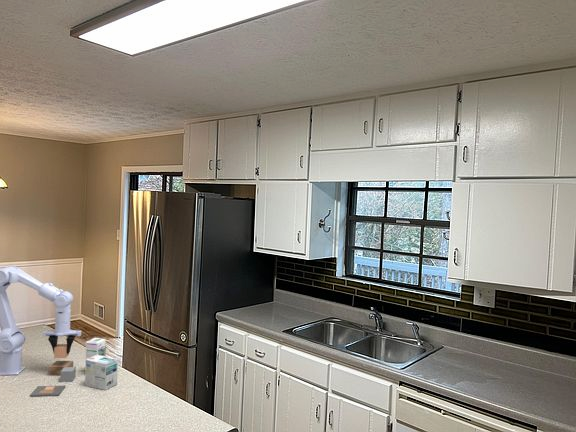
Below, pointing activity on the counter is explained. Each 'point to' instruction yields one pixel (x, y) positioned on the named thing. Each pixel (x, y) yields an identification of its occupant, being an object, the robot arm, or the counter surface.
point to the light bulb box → (101, 372)
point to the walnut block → (59, 367)
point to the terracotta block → (60, 351)
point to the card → (47, 391)
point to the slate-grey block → (68, 374)
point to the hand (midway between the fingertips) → (61, 352)
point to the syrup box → (95, 347)
